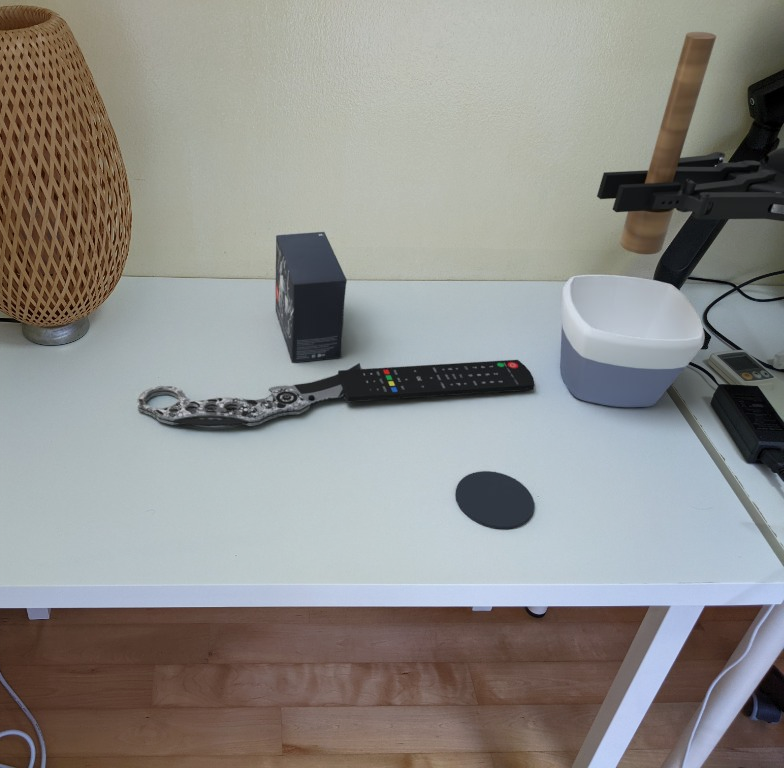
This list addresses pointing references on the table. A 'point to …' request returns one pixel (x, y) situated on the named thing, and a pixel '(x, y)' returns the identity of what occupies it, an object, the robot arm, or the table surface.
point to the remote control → (435, 380)
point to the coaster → (494, 500)
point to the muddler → (670, 143)
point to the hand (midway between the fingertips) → (610, 192)
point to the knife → (241, 404)
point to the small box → (309, 296)
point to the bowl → (625, 338)
